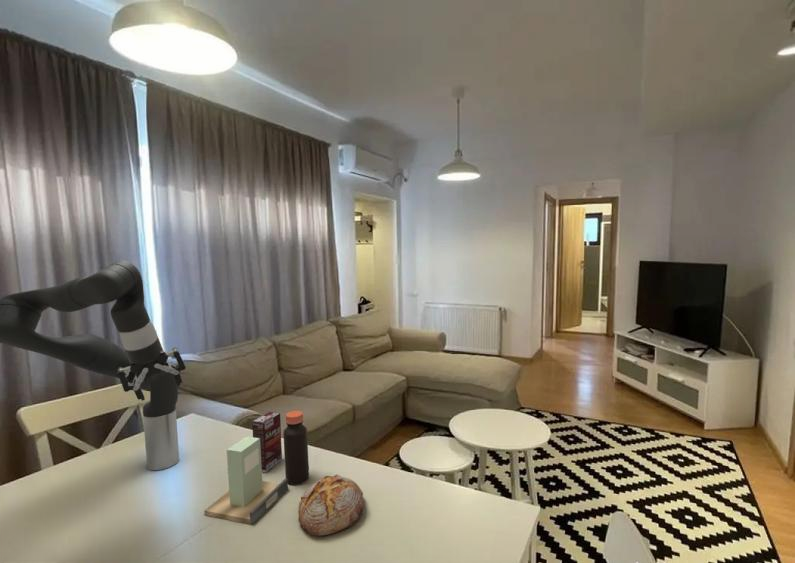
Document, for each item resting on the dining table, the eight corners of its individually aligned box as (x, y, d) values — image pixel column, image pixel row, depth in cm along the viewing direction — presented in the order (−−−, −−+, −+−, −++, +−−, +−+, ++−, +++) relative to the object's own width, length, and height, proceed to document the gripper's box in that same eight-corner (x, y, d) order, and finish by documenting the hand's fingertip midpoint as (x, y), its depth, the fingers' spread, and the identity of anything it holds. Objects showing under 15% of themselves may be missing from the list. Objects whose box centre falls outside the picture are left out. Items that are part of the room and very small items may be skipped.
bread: (286, 540, 100) (281, 500, 99) (317, 492, 119) (314, 459, 118) (351, 544, 96) (347, 502, 96) (373, 494, 116) (369, 459, 115)
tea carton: (229, 504, 111) (226, 449, 110) (249, 487, 118) (246, 436, 117) (244, 506, 109) (241, 451, 108) (262, 490, 117) (260, 438, 116)
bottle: (299, 470, 129) (295, 407, 128) (314, 477, 125) (310, 412, 124) (281, 480, 124) (277, 415, 122) (296, 488, 120) (292, 420, 118)
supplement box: (266, 473, 128) (263, 423, 127) (253, 470, 130) (250, 421, 129) (283, 459, 136) (281, 412, 135) (271, 457, 138) (268, 411, 137)
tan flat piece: (204, 514, 108) (203, 503, 108) (244, 481, 124) (243, 472, 123) (253, 524, 104) (253, 513, 104) (288, 489, 119) (288, 479, 119)
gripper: (107, 359, 96) (132, 412, 103) (174, 336, 103) (193, 387, 110) (105, 344, 101) (129, 395, 109) (169, 323, 108) (187, 373, 116)
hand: (161, 391), depth 109 cm, fingers open, 8 cm apart
